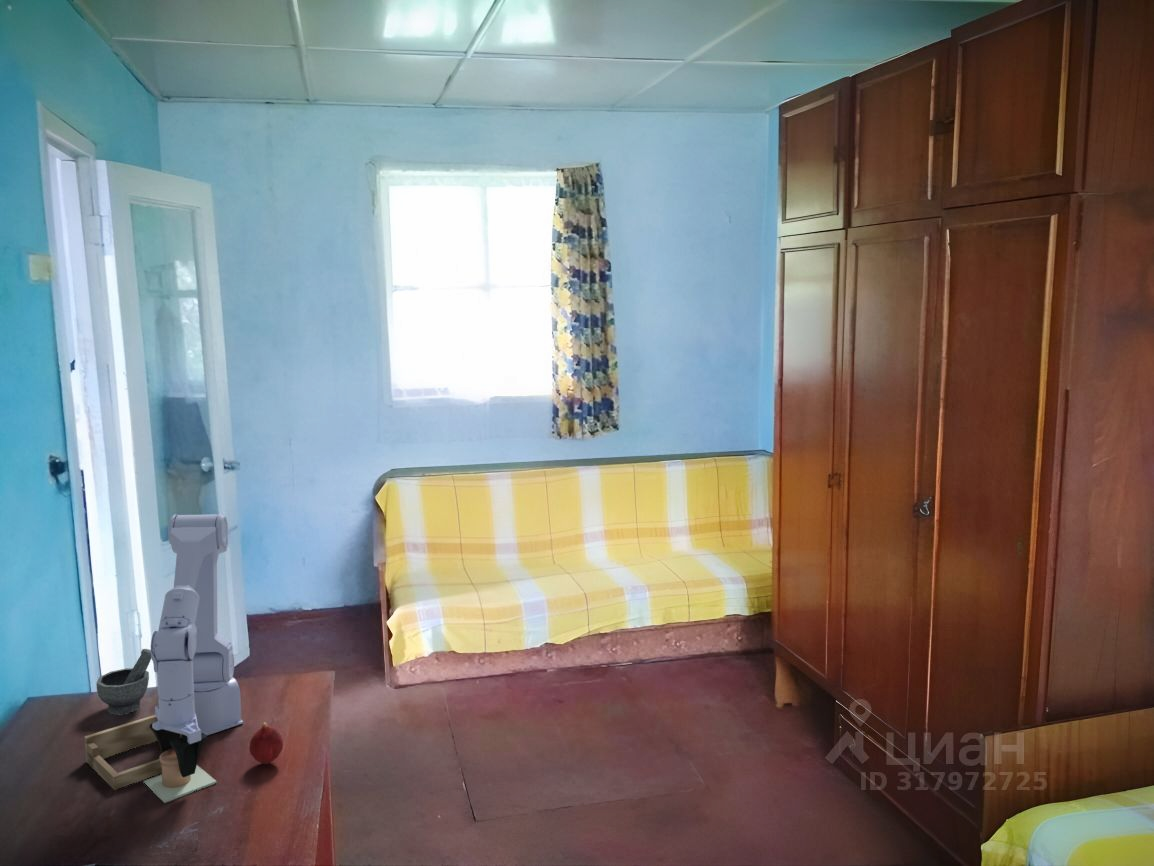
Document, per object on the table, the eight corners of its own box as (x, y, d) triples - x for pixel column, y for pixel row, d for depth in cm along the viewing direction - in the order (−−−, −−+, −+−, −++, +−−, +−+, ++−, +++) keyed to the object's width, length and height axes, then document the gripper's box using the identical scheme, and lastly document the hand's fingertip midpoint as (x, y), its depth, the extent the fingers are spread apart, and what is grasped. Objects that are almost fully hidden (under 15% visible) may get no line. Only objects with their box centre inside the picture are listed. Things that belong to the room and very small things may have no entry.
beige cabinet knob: (185, 770, 159) (184, 744, 158) (197, 781, 156) (196, 754, 155) (156, 780, 155) (154, 754, 155) (167, 791, 152) (166, 764, 151)
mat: (194, 764, 162) (194, 762, 162) (216, 783, 156) (216, 780, 156) (143, 783, 155) (143, 781, 155) (164, 802, 149) (164, 800, 149)
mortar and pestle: (102, 723, 177) (99, 666, 176) (94, 706, 185) (91, 651, 183) (162, 709, 184) (159, 654, 183) (152, 693, 192) (149, 640, 190)
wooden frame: (163, 736, 172) (162, 712, 172) (194, 761, 163) (193, 736, 162) (85, 762, 162) (84, 736, 161) (114, 790, 153) (112, 763, 152)
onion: (290, 760, 164) (288, 720, 163) (267, 774, 159) (266, 733, 158) (266, 753, 166) (265, 713, 165) (243, 767, 161) (241, 726, 160)
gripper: (135, 688, 155) (139, 760, 157) (170, 714, 145) (173, 791, 147) (176, 676, 160) (179, 746, 162) (212, 701, 151) (214, 775, 152)
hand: (179, 767), depth 155 cm, fingers open, 7 cm apart
